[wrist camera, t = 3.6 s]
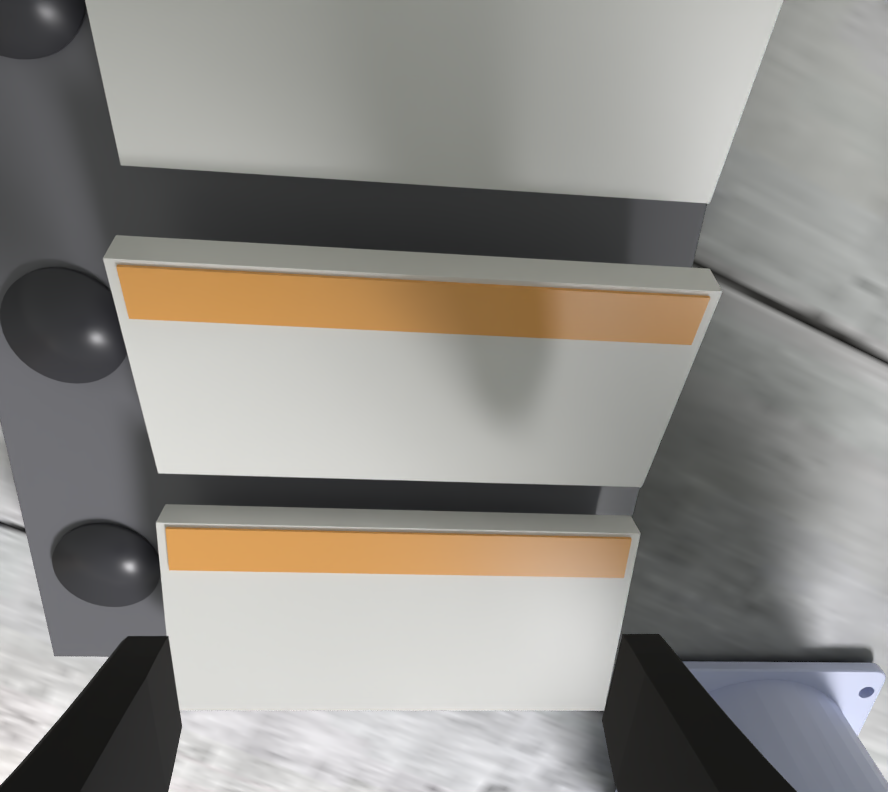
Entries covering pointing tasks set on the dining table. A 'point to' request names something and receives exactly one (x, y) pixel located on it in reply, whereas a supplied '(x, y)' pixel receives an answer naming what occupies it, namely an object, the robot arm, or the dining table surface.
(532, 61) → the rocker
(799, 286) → the dining table surface
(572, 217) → the rocker switch panel
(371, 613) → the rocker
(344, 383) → the rocker middle
